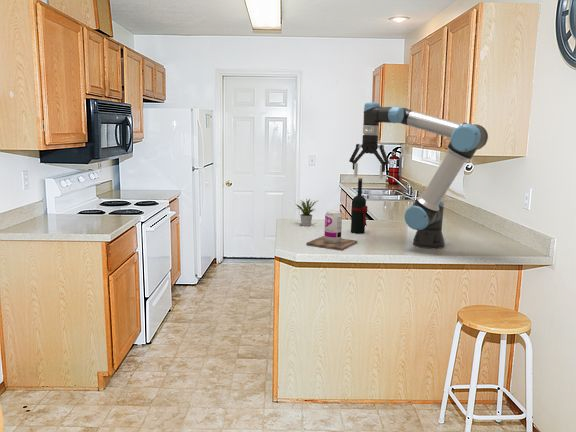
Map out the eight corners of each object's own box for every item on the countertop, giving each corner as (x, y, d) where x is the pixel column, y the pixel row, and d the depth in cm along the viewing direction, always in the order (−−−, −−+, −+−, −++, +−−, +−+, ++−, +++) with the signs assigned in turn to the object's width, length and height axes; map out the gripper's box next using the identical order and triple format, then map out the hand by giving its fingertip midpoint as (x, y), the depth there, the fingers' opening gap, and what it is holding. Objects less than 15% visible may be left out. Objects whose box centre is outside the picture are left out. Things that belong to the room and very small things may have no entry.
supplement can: (329, 244, 249) (330, 213, 247) (321, 240, 257) (322, 210, 254) (343, 242, 253) (345, 213, 250) (335, 239, 260) (336, 210, 257)
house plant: (314, 222, 309) (315, 195, 306) (323, 226, 296) (324, 199, 293) (292, 223, 305) (293, 196, 302) (300, 228, 292) (300, 199, 289)
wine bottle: (360, 235, 276) (363, 179, 271) (347, 231, 284) (350, 177, 279) (370, 233, 281) (373, 179, 275) (358, 230, 289) (360, 177, 284)
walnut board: (357, 243, 258) (357, 240, 258) (342, 250, 242) (342, 248, 242) (323, 238, 268) (323, 235, 267) (306, 245, 251) (306, 242, 251)
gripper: (344, 133, 256) (342, 176, 260) (392, 135, 244) (389, 179, 248) (349, 133, 263) (348, 175, 267) (397, 135, 251) (394, 178, 255)
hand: (368, 177), depth 257 cm, fingers open, 13 cm apart
